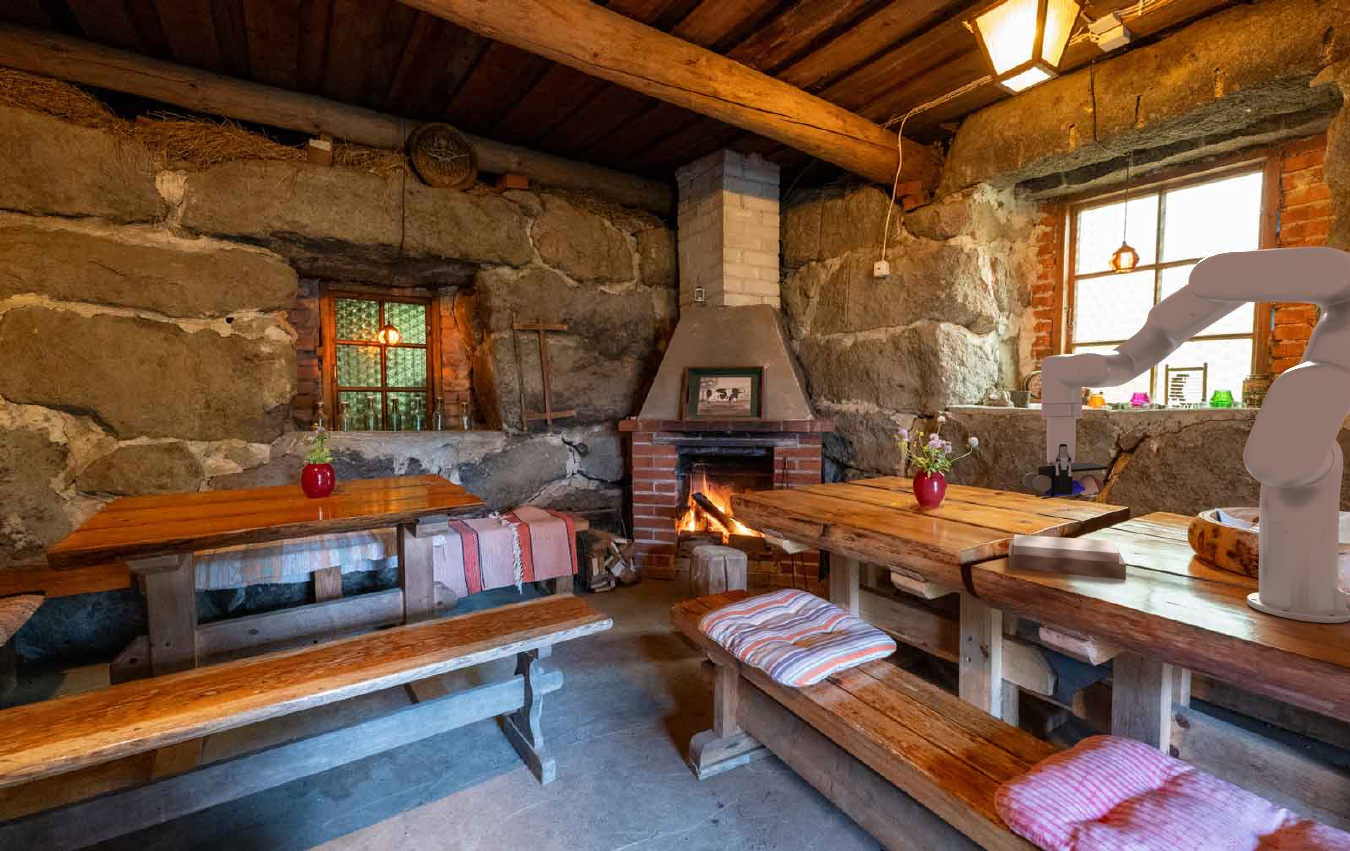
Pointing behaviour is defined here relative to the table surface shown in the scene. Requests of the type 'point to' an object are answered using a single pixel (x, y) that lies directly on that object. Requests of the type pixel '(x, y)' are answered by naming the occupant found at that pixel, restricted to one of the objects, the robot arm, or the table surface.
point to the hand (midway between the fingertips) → (1062, 490)
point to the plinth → (1067, 565)
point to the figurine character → (1083, 485)
